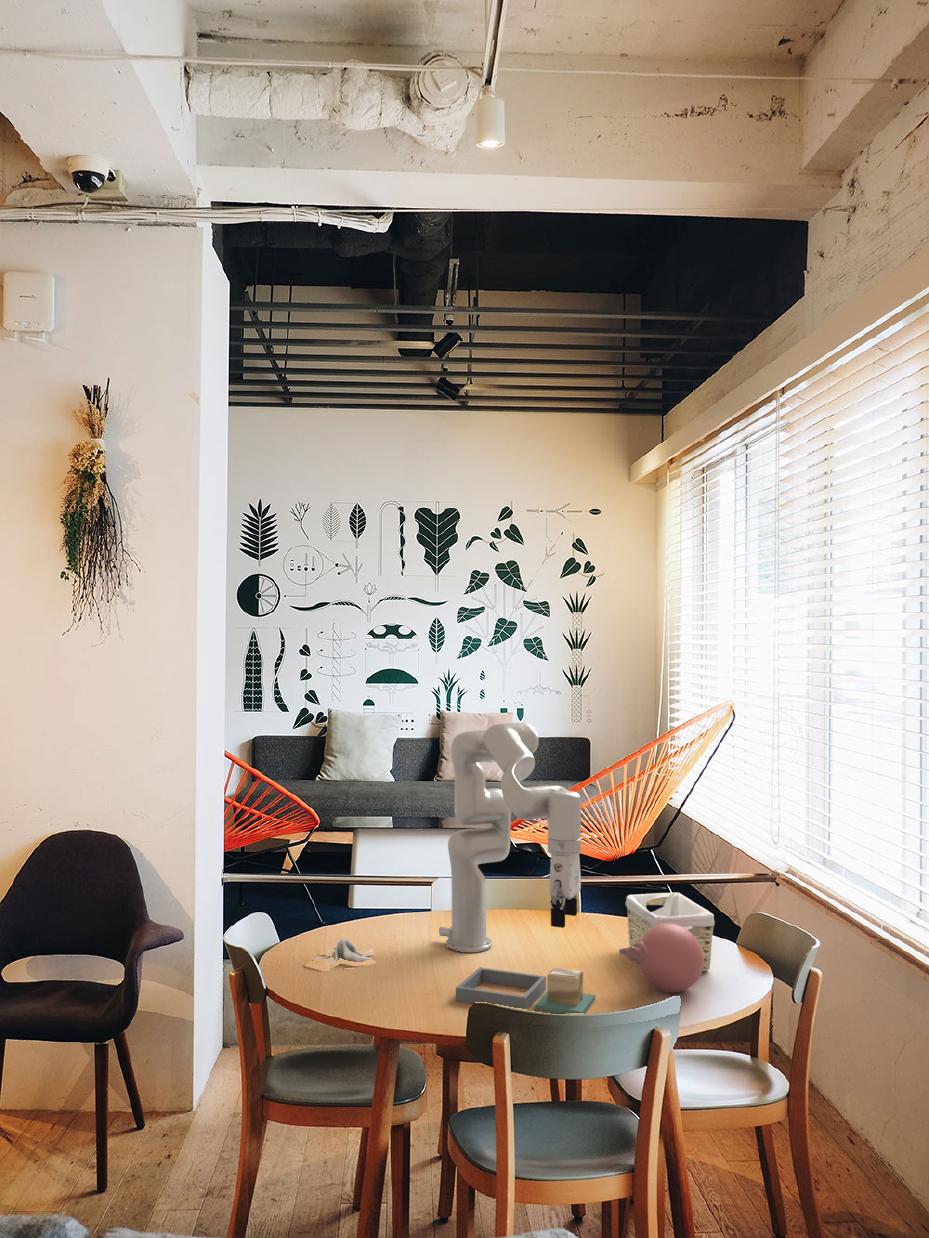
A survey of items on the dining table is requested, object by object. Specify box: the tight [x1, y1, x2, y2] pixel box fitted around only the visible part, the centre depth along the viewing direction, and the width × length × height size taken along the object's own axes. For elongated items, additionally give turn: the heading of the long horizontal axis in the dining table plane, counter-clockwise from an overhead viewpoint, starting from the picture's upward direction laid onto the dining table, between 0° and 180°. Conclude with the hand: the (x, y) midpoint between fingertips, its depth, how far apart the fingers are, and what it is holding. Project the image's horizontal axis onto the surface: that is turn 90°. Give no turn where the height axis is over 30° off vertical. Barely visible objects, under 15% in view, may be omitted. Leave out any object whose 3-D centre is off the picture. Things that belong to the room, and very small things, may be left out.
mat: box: [534, 990, 596, 1014], centre depth 209 cm, size 11×11×1 cm
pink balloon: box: [618, 924, 704, 993], centre depth 218 cm, size 15×20×15 cm
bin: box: [455, 967, 547, 1010], centre depth 215 cm, size 17×15×3 cm
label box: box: [546, 967, 584, 1006], centre depth 209 cm, size 5×7×6 cm
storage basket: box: [625, 892, 716, 972], centre depth 240 cm, size 24×16×15 cm
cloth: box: [314, 937, 374, 965], centre depth 240 cm, size 22×19×6 cm
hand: (564, 920), depth 210 cm, fingers open, 9 cm apart
